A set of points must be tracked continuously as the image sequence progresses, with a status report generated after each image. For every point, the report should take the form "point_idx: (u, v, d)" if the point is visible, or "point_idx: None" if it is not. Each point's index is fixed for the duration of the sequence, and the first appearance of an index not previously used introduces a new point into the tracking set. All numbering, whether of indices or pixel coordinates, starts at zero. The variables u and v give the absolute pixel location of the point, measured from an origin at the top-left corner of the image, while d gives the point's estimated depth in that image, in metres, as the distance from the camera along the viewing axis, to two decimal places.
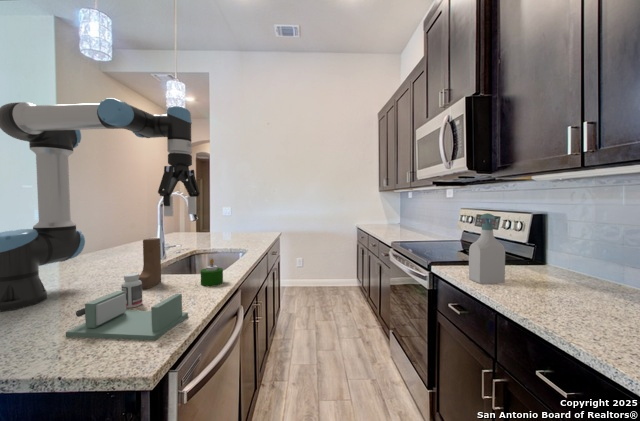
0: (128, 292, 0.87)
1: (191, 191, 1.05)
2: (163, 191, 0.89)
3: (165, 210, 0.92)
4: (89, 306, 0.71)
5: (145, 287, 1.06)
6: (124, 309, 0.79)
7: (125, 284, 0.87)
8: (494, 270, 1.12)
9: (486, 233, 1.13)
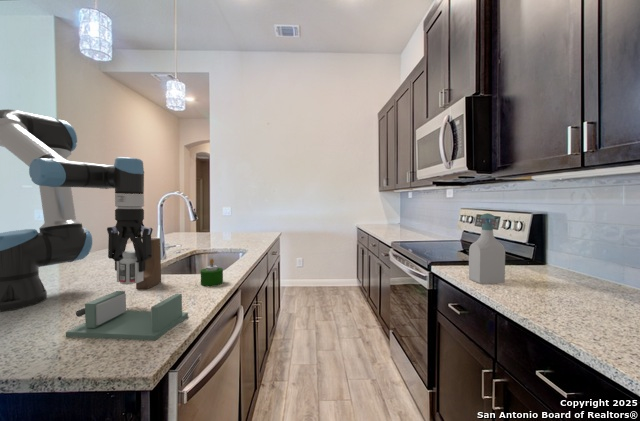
0: (126, 268, 0.87)
1: None
2: None
3: None
4: (89, 306, 0.71)
5: (145, 287, 1.06)
6: (124, 309, 0.79)
7: (123, 261, 0.87)
8: (494, 270, 1.12)
9: (486, 233, 1.13)
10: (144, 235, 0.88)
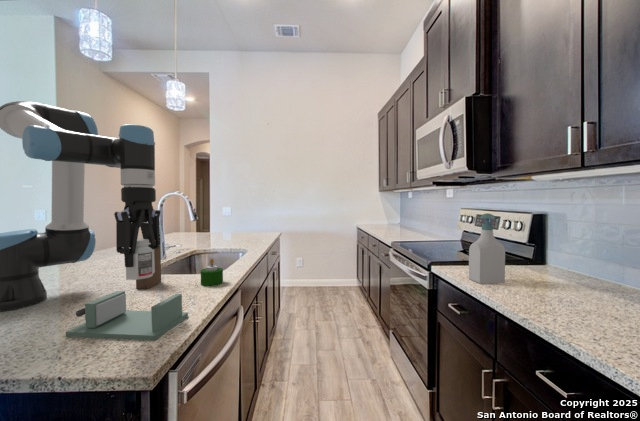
0: (152, 257, 0.75)
1: (149, 240, 0.77)
2: (123, 250, 0.68)
3: (127, 272, 0.71)
4: (89, 306, 0.71)
5: (145, 287, 1.06)
6: (124, 309, 0.79)
7: (148, 249, 0.74)
8: (494, 270, 1.12)
9: (486, 233, 1.13)
10: (158, 217, 0.79)
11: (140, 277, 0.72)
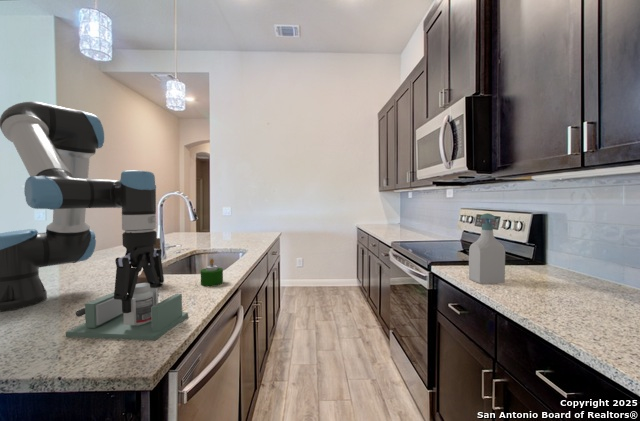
0: (152, 302, 0.75)
1: (152, 279, 0.78)
2: (121, 297, 0.67)
3: (125, 317, 0.70)
4: (89, 306, 0.71)
5: None
6: None
7: (149, 294, 0.74)
8: (494, 270, 1.12)
9: (486, 233, 1.13)
10: (160, 256, 0.80)
11: (141, 323, 0.72)
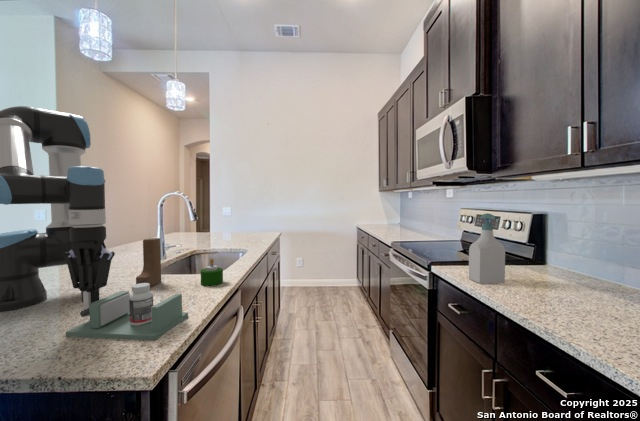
0: (152, 302, 0.75)
1: None
2: None
3: None
4: (94, 306, 0.70)
5: None
6: (128, 310, 0.79)
7: (149, 294, 0.74)
8: (494, 270, 1.12)
9: (486, 233, 1.13)
10: (102, 260, 0.74)
11: (141, 323, 0.72)
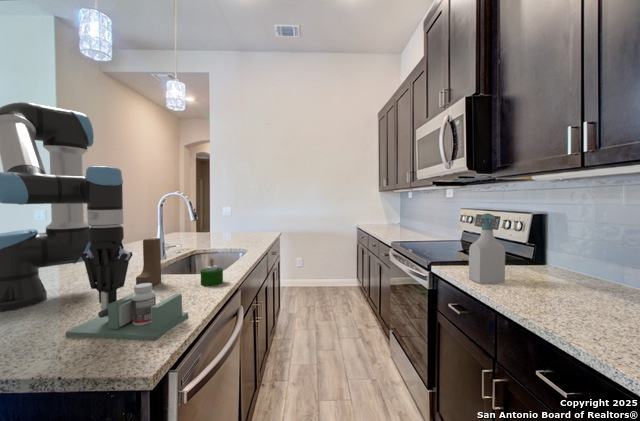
0: (155, 302, 0.75)
1: None
2: None
3: None
4: (113, 307, 0.70)
5: None
6: None
7: (151, 294, 0.74)
8: (494, 270, 1.12)
9: (486, 233, 1.13)
10: (120, 261, 0.73)
11: (143, 323, 0.72)
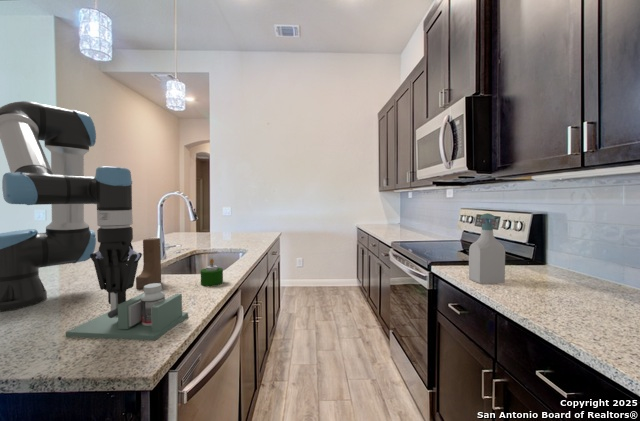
0: None
1: None
2: None
3: None
4: (122, 307, 0.70)
5: None
6: None
7: (161, 294, 0.74)
8: (494, 270, 1.12)
9: (486, 233, 1.13)
10: (130, 261, 0.73)
11: None
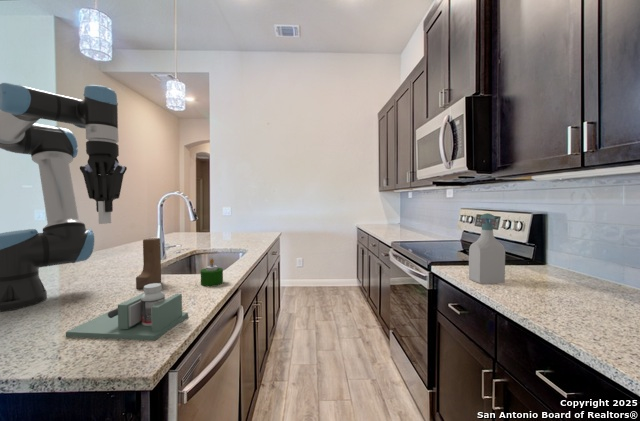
0: None
1: None
2: None
3: None
4: (122, 307, 0.70)
5: None
6: None
7: (161, 294, 0.74)
8: (494, 270, 1.12)
9: (486, 233, 1.13)
10: (116, 172, 0.81)
11: None
